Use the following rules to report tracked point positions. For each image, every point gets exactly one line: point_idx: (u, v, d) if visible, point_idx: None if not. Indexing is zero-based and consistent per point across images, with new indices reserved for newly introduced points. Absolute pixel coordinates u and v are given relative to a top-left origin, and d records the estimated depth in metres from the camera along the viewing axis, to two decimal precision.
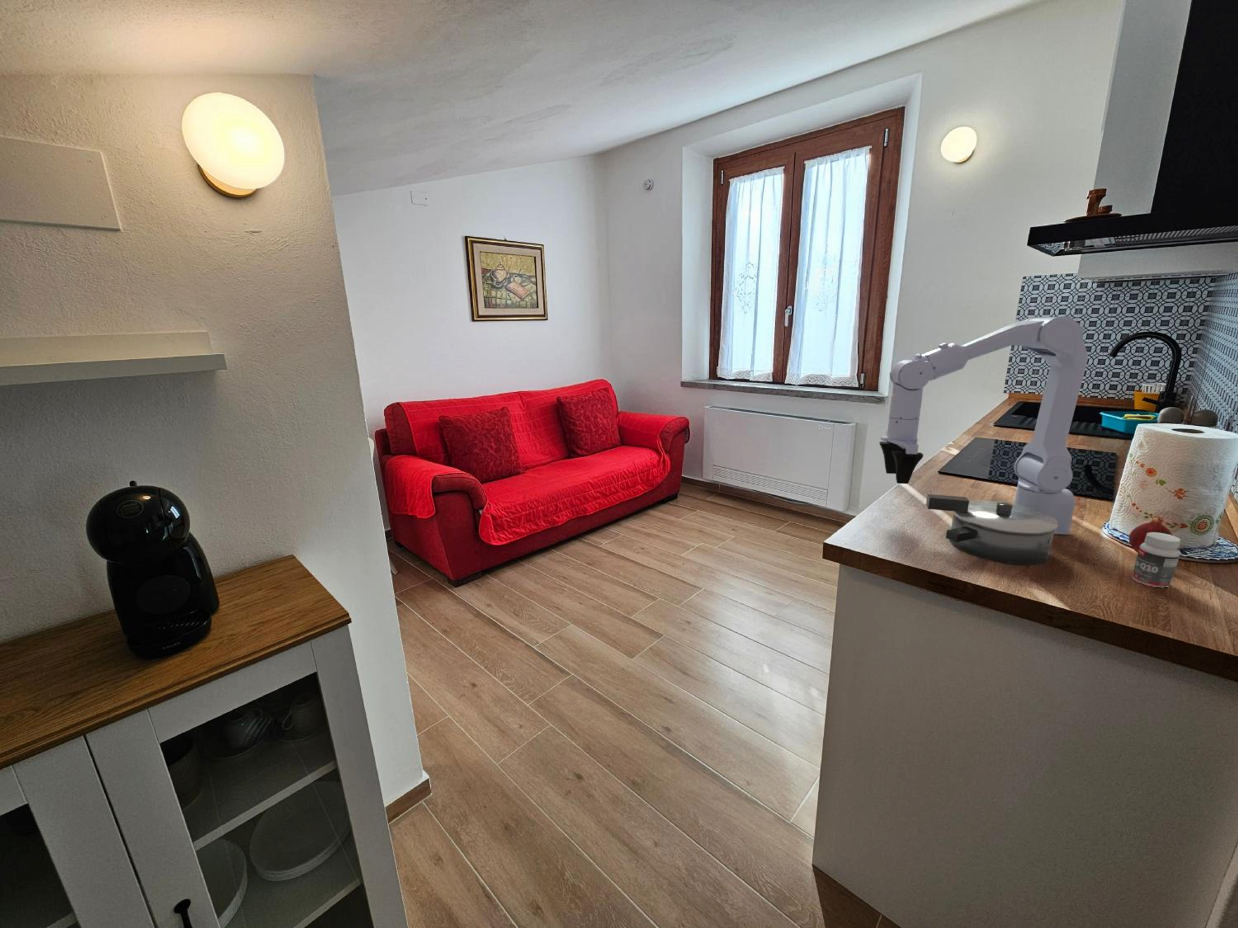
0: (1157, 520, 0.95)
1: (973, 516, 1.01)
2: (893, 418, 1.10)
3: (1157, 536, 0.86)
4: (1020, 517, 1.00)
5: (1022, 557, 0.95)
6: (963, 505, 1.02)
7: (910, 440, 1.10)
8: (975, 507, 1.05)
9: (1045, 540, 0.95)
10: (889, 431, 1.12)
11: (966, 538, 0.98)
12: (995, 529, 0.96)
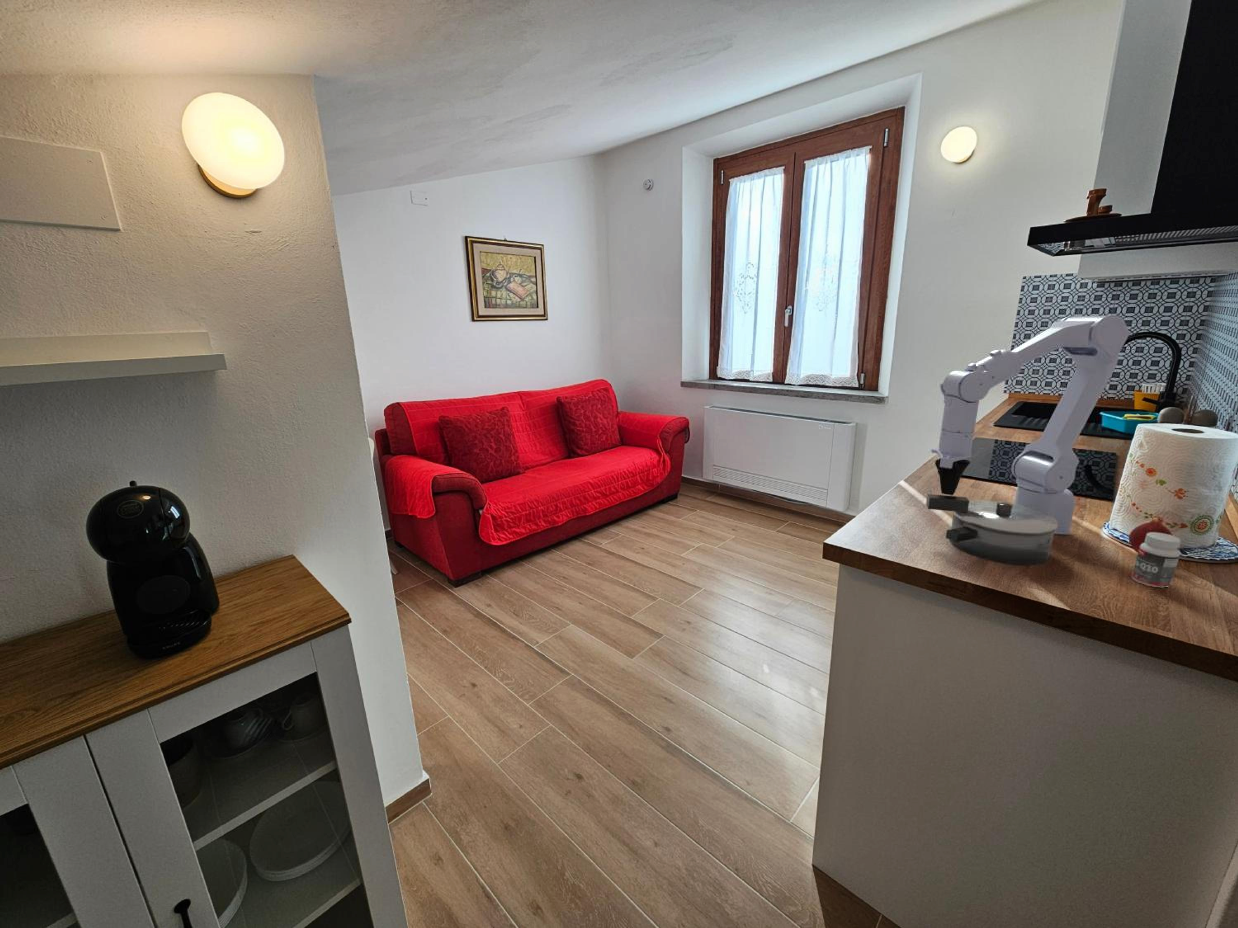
0: (1157, 520, 0.95)
1: (973, 516, 1.01)
2: (941, 430, 1.07)
3: (1157, 536, 0.86)
4: (1020, 517, 1.00)
5: (1022, 557, 0.95)
6: (963, 505, 1.02)
7: (956, 454, 1.05)
8: (975, 507, 1.05)
9: (1045, 540, 0.95)
10: (939, 443, 1.08)
11: (966, 538, 0.98)
12: (995, 529, 0.96)
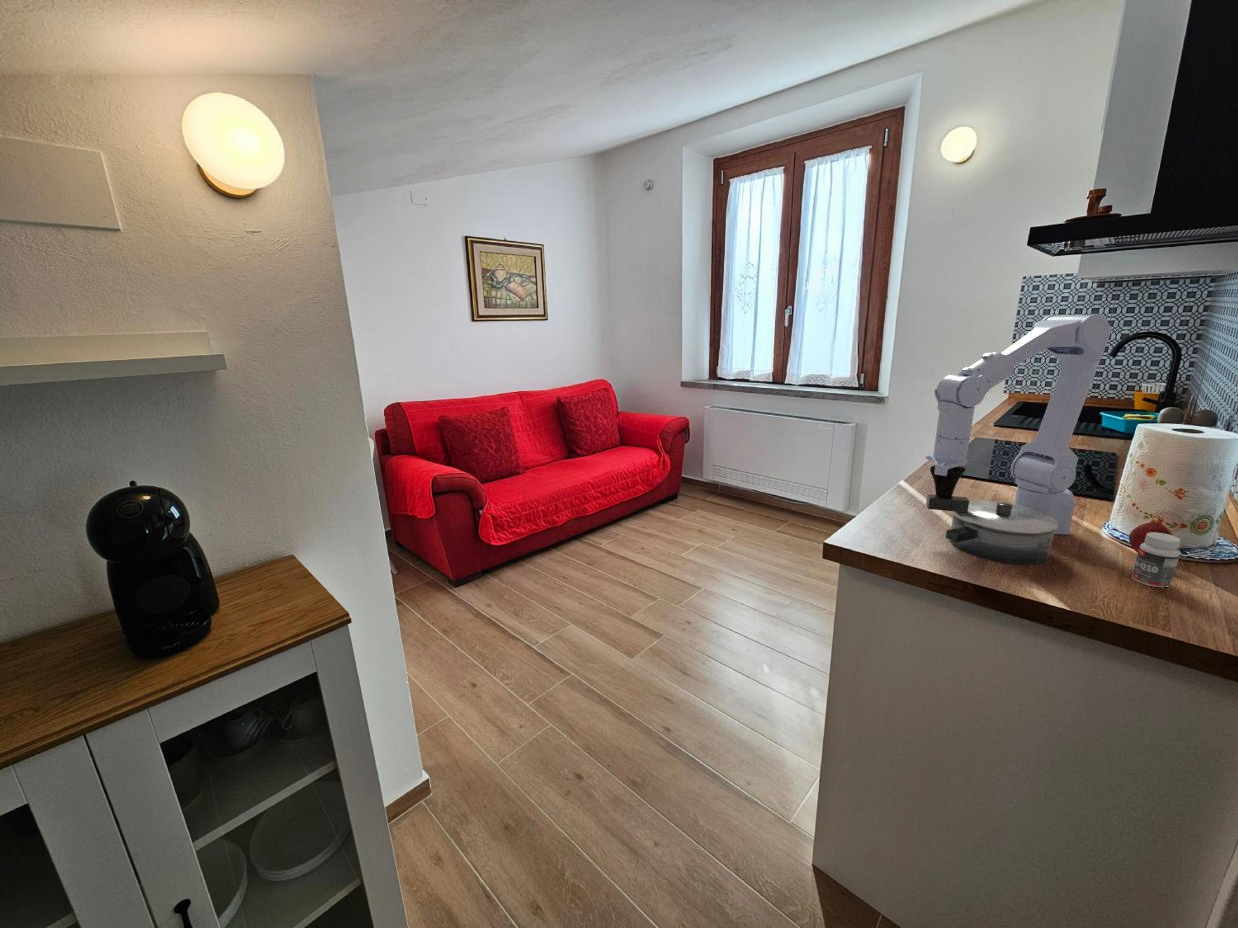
0: (1157, 520, 0.95)
1: (973, 516, 1.01)
2: (936, 436, 1.04)
3: (1157, 536, 0.86)
4: (1020, 517, 1.00)
5: (1022, 557, 0.95)
6: (963, 505, 1.02)
7: (951, 461, 1.02)
8: (975, 507, 1.05)
9: (1045, 540, 0.95)
10: (934, 449, 1.05)
11: (966, 538, 0.98)
12: (995, 529, 0.96)
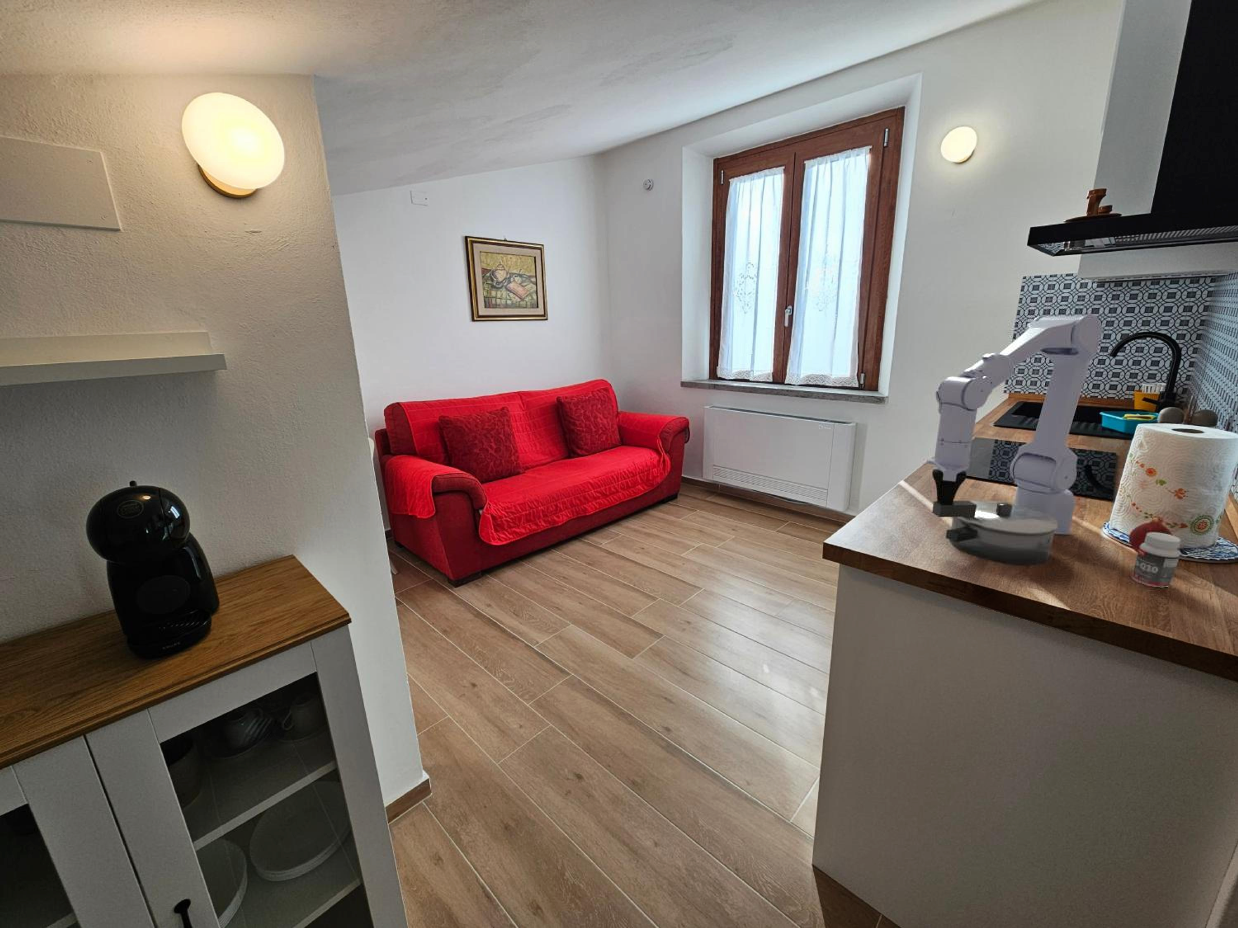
0: (1157, 520, 0.95)
1: (984, 520, 0.99)
2: (939, 440, 1.00)
3: (1157, 536, 0.86)
4: (1020, 515, 1.00)
5: (1022, 557, 0.95)
6: (971, 509, 1.00)
7: (956, 466, 0.99)
8: None
9: (1045, 540, 0.95)
10: (935, 454, 1.02)
11: (966, 538, 0.98)
12: (1015, 532, 0.94)
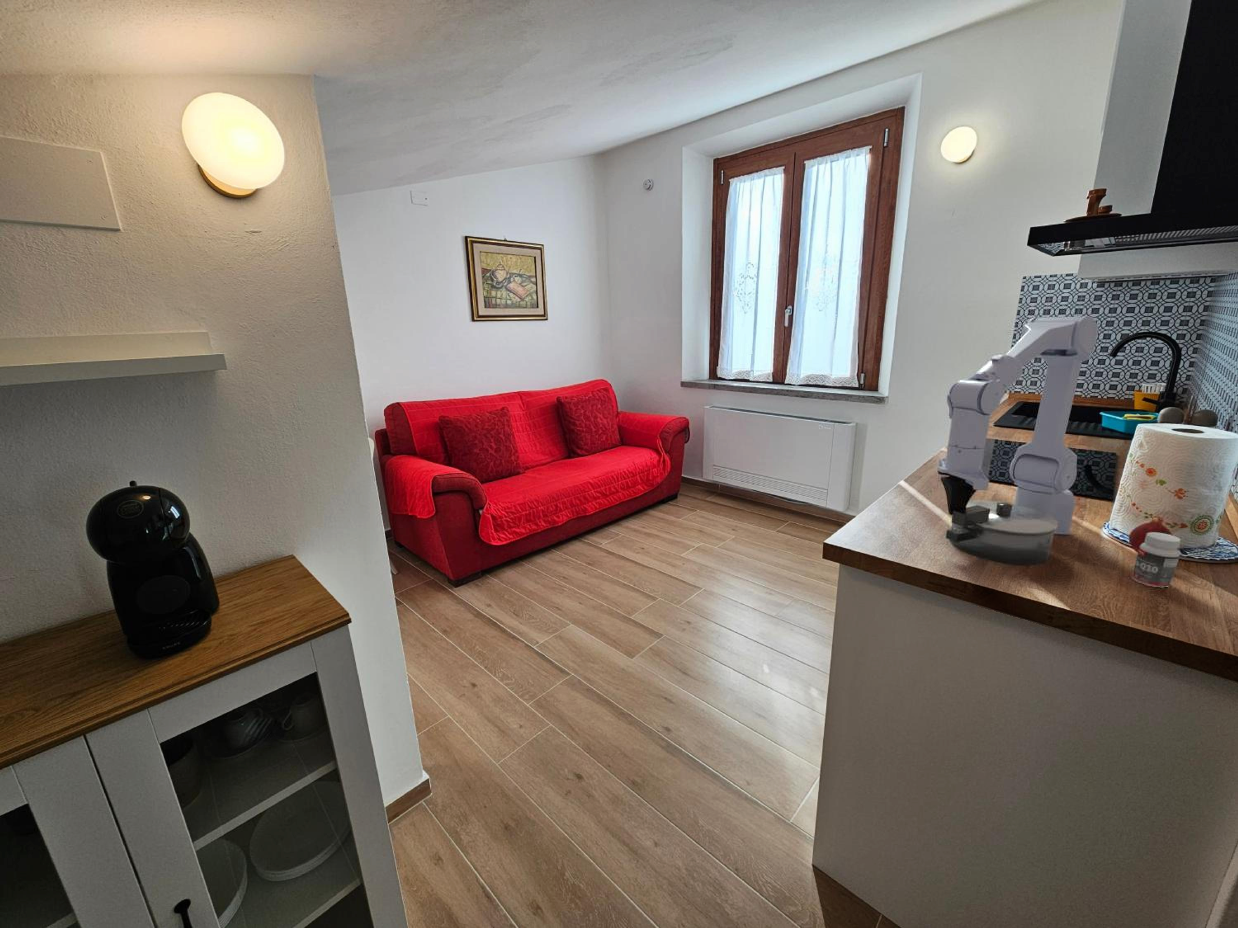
0: (1157, 520, 0.95)
1: (1000, 524, 0.97)
2: (955, 447, 0.95)
3: (1157, 536, 0.86)
4: (1016, 513, 1.01)
5: (1022, 557, 0.95)
6: (986, 514, 0.97)
7: (975, 472, 0.94)
8: None
9: (1045, 540, 0.95)
10: (949, 461, 0.97)
11: (966, 538, 0.98)
12: (1036, 533, 0.94)
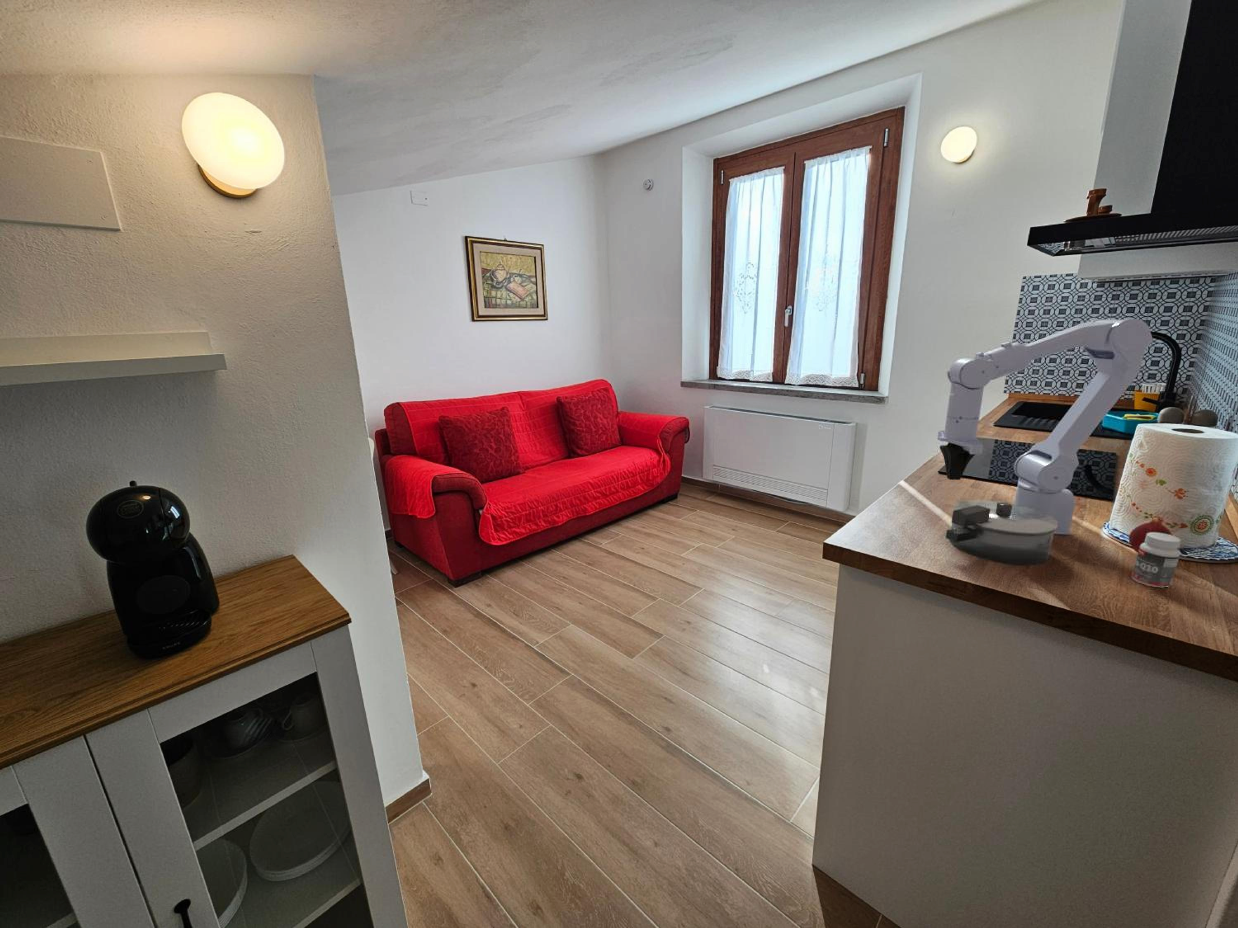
0: (1157, 520, 0.95)
1: (1000, 524, 0.97)
2: (953, 418, 1.08)
3: (1157, 536, 0.86)
4: (1016, 513, 1.01)
5: (1022, 557, 0.95)
6: (986, 514, 0.97)
7: (971, 440, 1.07)
8: None
9: (1045, 540, 0.95)
10: (948, 431, 1.10)
11: (966, 538, 0.98)
12: (1036, 533, 0.94)
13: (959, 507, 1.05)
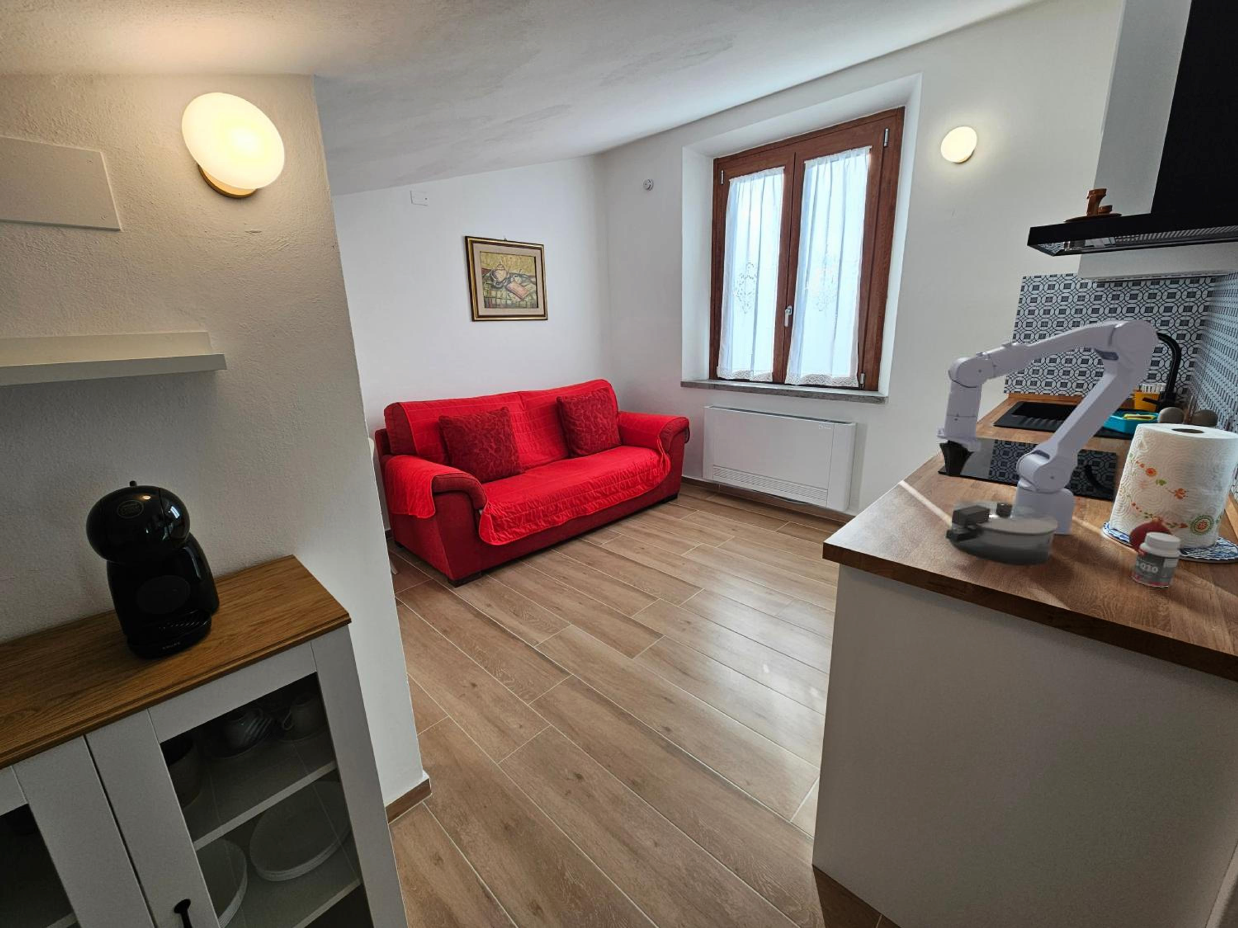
0: (1157, 520, 0.95)
1: (1000, 524, 0.97)
2: (952, 416, 1.10)
3: (1157, 536, 0.86)
4: (1016, 513, 1.01)
5: (1022, 557, 0.95)
6: (986, 514, 0.97)
7: (969, 438, 1.09)
8: None
9: (1045, 540, 0.95)
10: (947, 429, 1.11)
11: (966, 538, 0.98)
12: (1036, 533, 0.94)
13: (959, 507, 1.05)
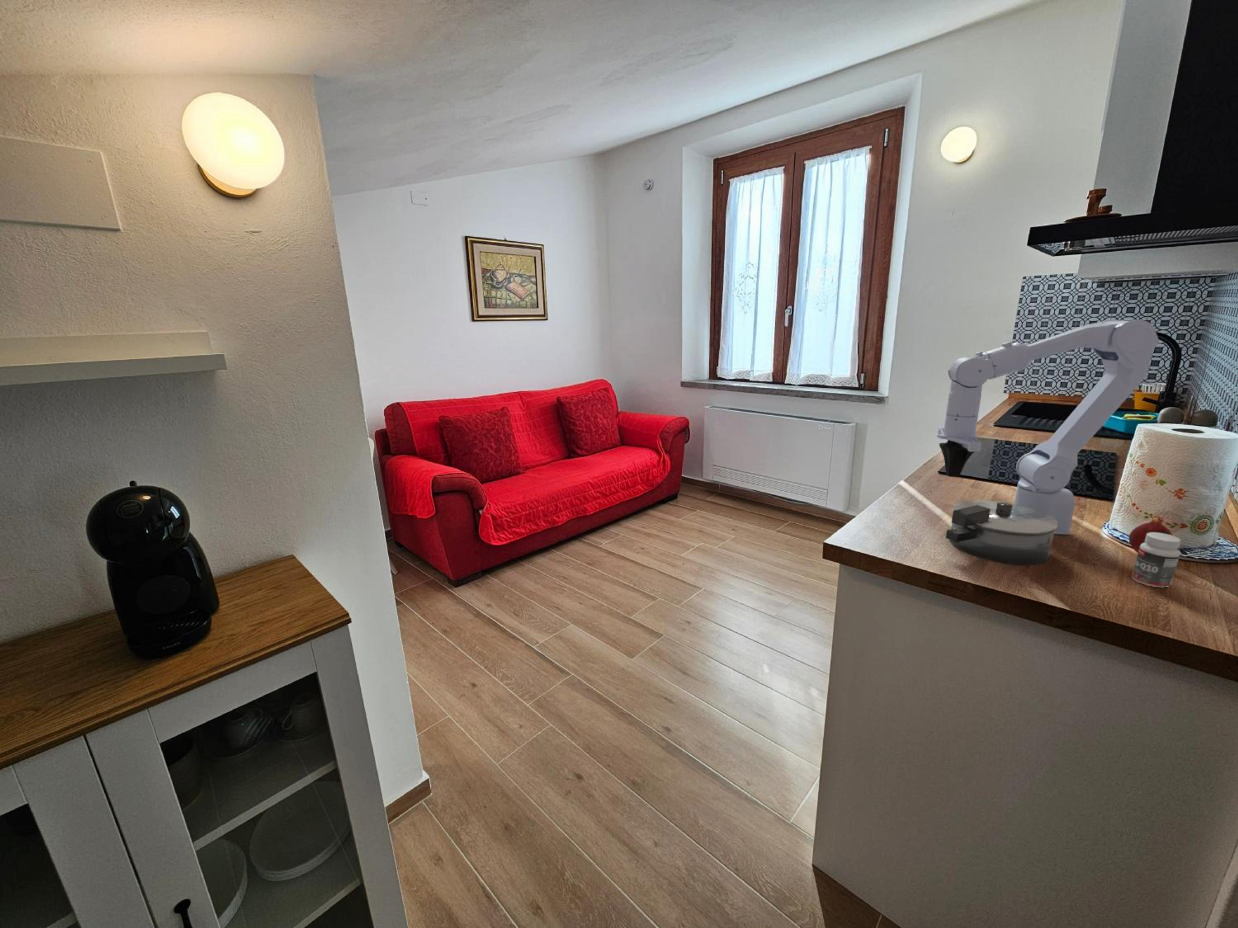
0: (1157, 520, 0.95)
1: (1000, 524, 0.97)
2: (952, 416, 1.10)
3: (1157, 536, 0.86)
4: (1016, 513, 1.01)
5: (1022, 557, 0.95)
6: (986, 514, 0.97)
7: (969, 438, 1.09)
8: None
9: (1045, 540, 0.95)
10: (947, 429, 1.11)
11: (966, 538, 0.98)
12: (1036, 533, 0.94)
13: (959, 507, 1.05)
